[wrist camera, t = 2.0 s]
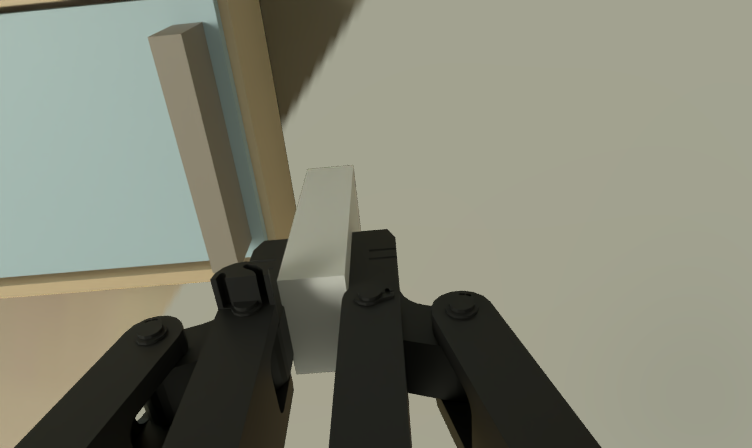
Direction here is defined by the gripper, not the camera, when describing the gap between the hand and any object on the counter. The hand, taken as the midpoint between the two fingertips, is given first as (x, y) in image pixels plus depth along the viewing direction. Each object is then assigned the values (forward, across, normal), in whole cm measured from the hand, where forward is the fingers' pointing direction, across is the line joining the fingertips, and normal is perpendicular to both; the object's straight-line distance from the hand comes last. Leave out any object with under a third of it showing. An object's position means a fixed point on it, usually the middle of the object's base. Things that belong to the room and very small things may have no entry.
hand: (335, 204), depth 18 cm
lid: (+7, -14, 0) cm, 16 cm away
